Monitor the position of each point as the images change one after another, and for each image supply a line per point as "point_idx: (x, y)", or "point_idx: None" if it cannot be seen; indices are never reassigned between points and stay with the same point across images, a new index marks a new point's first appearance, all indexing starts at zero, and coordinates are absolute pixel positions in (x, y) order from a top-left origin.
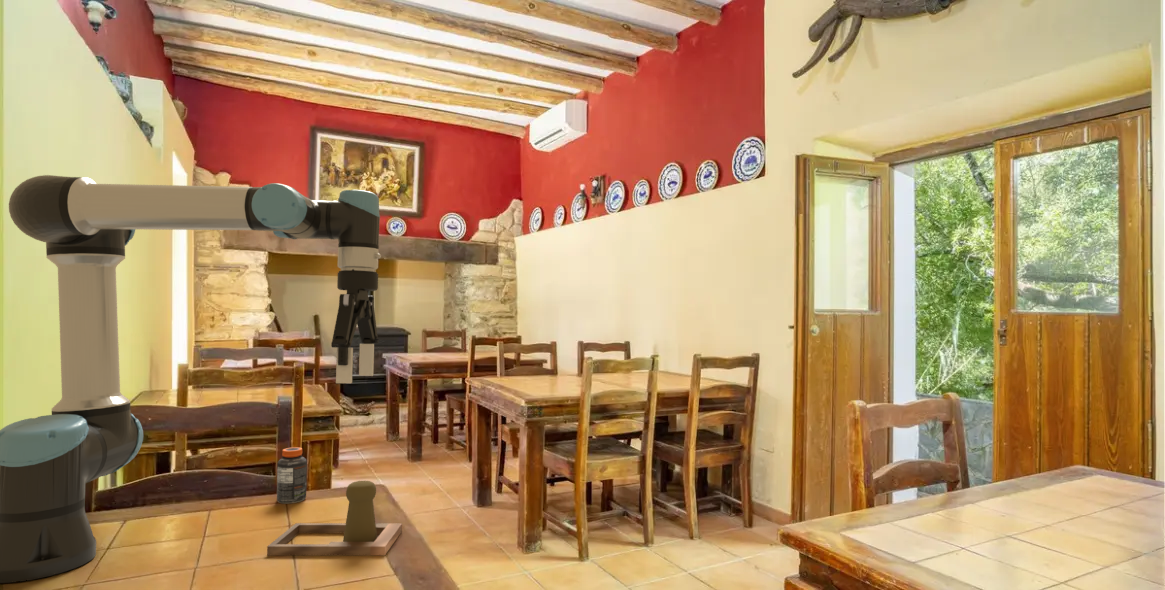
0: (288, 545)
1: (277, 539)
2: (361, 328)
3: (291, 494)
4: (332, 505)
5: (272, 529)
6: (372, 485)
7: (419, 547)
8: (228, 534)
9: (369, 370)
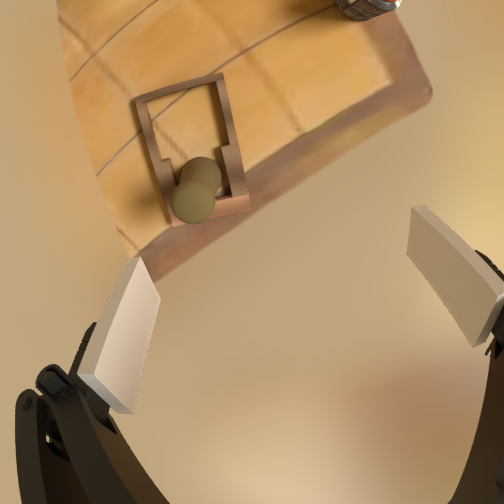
0: (142, 119)
1: (157, 91)
2: (501, 409)
3: (343, 6)
4: (342, 67)
5: (223, 39)
6: (192, 223)
7: (206, 244)
8: (193, 2)
9: (417, 256)
